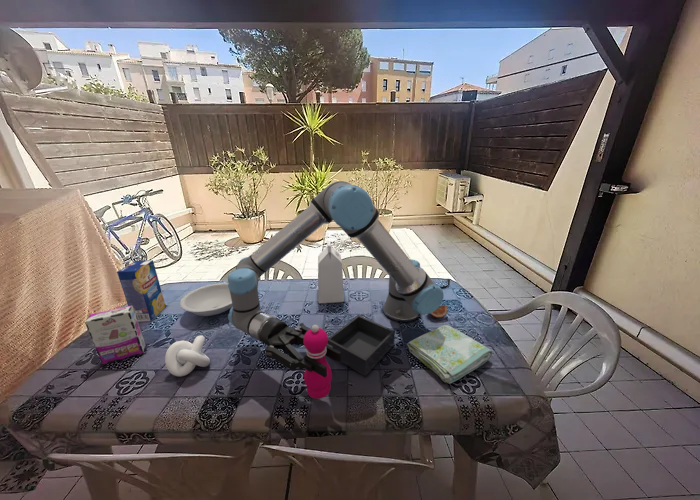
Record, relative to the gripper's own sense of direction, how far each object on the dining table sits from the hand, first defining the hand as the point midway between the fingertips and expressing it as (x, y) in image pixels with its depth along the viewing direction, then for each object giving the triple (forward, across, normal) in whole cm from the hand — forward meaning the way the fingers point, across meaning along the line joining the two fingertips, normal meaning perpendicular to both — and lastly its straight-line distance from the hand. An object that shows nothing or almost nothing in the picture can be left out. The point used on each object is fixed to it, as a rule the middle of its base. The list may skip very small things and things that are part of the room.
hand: (333, 364), depth 65 cm
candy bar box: (-71, +23, -16) cm, 77 cm away
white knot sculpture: (-47, +12, -16) cm, 52 cm away
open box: (-7, -24, -16) cm, 30 cm away
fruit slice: (+7, -58, -16) cm, 61 cm away
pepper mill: (-5, 0, -11) cm, 12 cm away
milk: (-39, -46, -16) cm, 63 cm away
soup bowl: (-73, -9, -16) cm, 75 cm away
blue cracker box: (-92, +8, -16) cm, 94 cm away
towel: (+18, -38, -16) cm, 45 cm away
